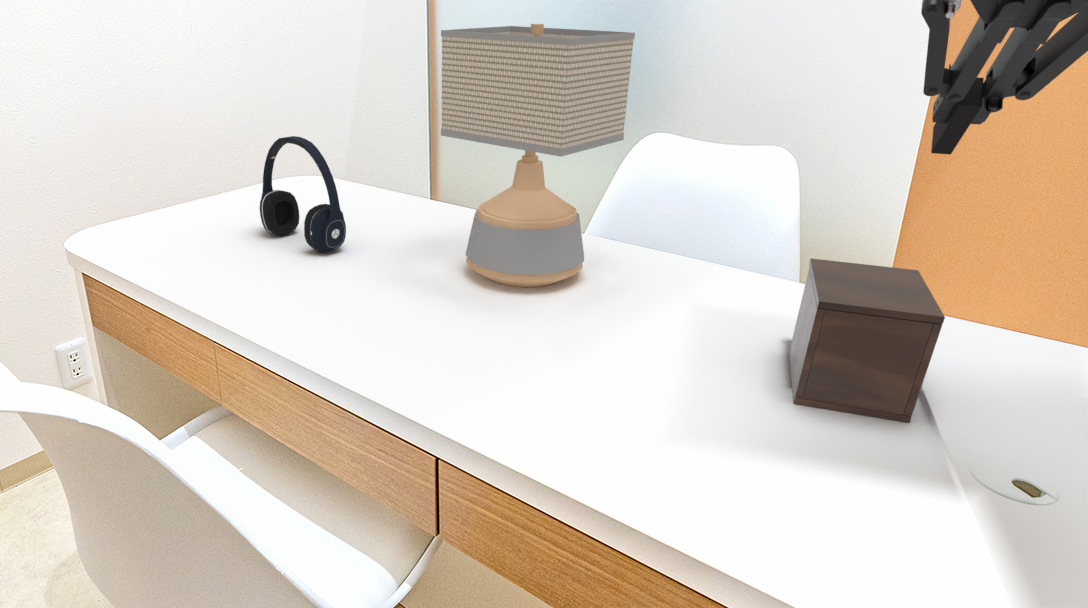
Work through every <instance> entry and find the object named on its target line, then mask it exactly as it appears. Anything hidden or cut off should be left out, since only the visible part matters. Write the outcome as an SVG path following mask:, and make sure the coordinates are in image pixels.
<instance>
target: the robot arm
mask: <svg viewBox="0 0 1088 608" xmlns="http://www.w3.org/2000/svg"><path fill="white" fill-rule="evenodd" d="M969 1H970V2H971V4H972V6H973V8H974V10H975V12H976V13H977V15H978V18H977V20H976V22H975V24H974V26H973V27H972V29H971V31H970V33H969V34H968V36H967V38H966V40H965V42H964V44H963V45H962V47H961V49H960V51H959V53H958V55H957V56H956V58H955V60H954V62H953V63H952V64H951V63H950V64H948V67H945V66H946V60H947V52H948V44H949V37H950V27H951V19H952V18H953V17H954V16H955V15H956V12H957V11H959V9H960V8H961V5H962V4H961V3H962V0H922V1H921V10H920V11H921V16H922V18H923V20H924V21H925V23H926V26H927V27H928V38H927V50H926V59H925V68H924V79H923V89H922V92H923V95H925V96H926V97H935V96H937V97H936V99H935V101H934V103H933V105H932V106H933V107H932V118H931V119H932V123H934V125H933V128H932V139H931V150H930V153H931V154H937V155H952V154H953V152H954V150H955V149H956V147H957V145H958V144H959V143H960V141H961V140H962V138H963V136H964V135H965V133H966V132H967V130H968V128H969V127H970V125H978V126H979V125H982V124H983V123H984V122H986V121H987V119H988V117H989V116H990V115H991V113H997V112H999V111H1001V110H1002V109H1003V108H1004V107H1003V105H1004V99H1007V98H1011V97H1014V98H1015V99H1016V100H1018V101H1027V100H1030V99H1032V98H1034V97H1035V96H1036V95H1037V94H1038V93H1040V92H1041V91H1042V90H1043V89H1045V88H1046V87H1047V86H1048V85H1049V84H1050V83H1051V82H1053V81H1054V80H1055V79H1056V78H1058V77H1059V76H1060V75H1061V74H1062V73H1064V72H1065V71H1066V70H1067V69H1068V68H1070V67H1071V66H1072V65H1073V64H1074V63H1075V62H1076V61H1078V60H1079V59H1080V58H1081V57H1082V56H1084V55H1085V54H1086V53H1087V52H1088V0H969ZM1070 17H1072V18H1070ZM1069 18H1070V19H1069ZM1067 19H1069V20H1068V21H1067V22H1066V23H1065V24H1064V25H1063V26H1062V27H1061V28H1059V29H1058V30H1057V31H1056V32H1055V33H1054V34H1053V32H1054V31H1055V29H1056V28H1057V26H1058V25H1059V23H1061V22H1062V21H1065V20H1067ZM1010 29H1012V31H1011V32H1010V34H1009V36H1008V38H1007V39H1006V41H1005V42H1004V44H1003V46H1002V47H1001V49H1000V50H999V52H998V54H997V56H996V57H995V59H994V60H993V62H992V64H991V65H990V66H989V69H988V70H987V72H986V74H985V80H984V77H978V76H979V74H980V73H981V72H982V70H983V68H984V67H985V65H986V63H987V62H988V60H989V58H990V56H991V55H992V54H993V52H994V50H995V49H996V47H997V46H998V44H1001V43H1002V42H1003V41H1004V39H1005V38H1006V36H1007V34H1008V32H1009V31H1010ZM1052 34H1053V35H1052ZM1051 35H1052V36H1051ZM1050 36H1051V37H1050Z"/></svg>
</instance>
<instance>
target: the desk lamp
mask: <svg viewBox="0 0 1088 608" xmlns="http://www.w3.org/2000/svg"><path fill="white" fill-rule="evenodd" d="M440 37H441V127H440V136H442V137H446V138H453V139H458V140H464V141H470V142H475V143H481V144H486V145H493V146H498V147H503V148H509V149H516V150H520V151H524V154H523V155H521V159H518V160H517V161H516V165H515V170H514V175H513V179H512V180H513V181H512V184H511V186H510V187H508V188H506V189H504V190H503V191H501V192H499V193H498V194H496V195H494V196H493V197H490V198H489V199H488V200H486V201H483V202H482V203H480V204H479V206H478V208H477V209H476V210H475V212H474V215H473V220H472V224H471V228H470V233H469V237H468V242H467V246H466V249H465V256H466V259H465V262H466V264H467V265H468V266H469V268H470V269H471V270H472V271H474V272H475V273H478V274H480V275H481V276H483V277H485V278H486V279H489V280H491V281H493V282H496V283H498V284H502V285H506V286H511V287H520V288H534V287H536V288H537V287H545V286H549V285H552V284H555V283H559V282H561V281H564V280H567V279H569V278H571V277H573V276H575V275H576V274H577V273H579V272H580V271H581V270H582V269H583V267H584V265H583V263H584V262H585V253H584V251H585V250H584V242H583V236H582V235H583V234H582V227H581V219H580V214H579V213H578V211H577V208H576V207H575V206H573V205H571V204H570V203H569V202H567V201H565V200H564V199H563V198H561V197H560V196H558V195H557V194H556V193H554V192H552V191H551V190H550V189H548V188H547V187H546V184H545V173H544V162H543V161H542V160H539V155H536V153H538V154H544V155H550V156H555V157H564V156H568V155H572V154H576V153H580V152H585V151H587V150H591V149H595V148H599V147H602V146H606V145H610V144H613V143H614V144H615V143H617V142H621V141H624V139H625V132H624V130H625V122H626V112H627V103H628V93H629V85H630V76H631V67H632V57H633V48H634V40H635V38H636V32H632V31H631V32H629V31H610V30H596V29H595V30H593V29H574V28H557V27H545V24H544V23H531V24H530V26H519V25H517V26H516V25H507V26H506V25H505V26H503V25H502V26H489V27H474V28H473V27H469V28H457V29H455V28H454V29H441V30H440Z"/></svg>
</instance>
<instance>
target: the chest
mask: <svg viewBox="0 0 1088 608" xmlns="http://www.w3.org/2000/svg"><path fill="white" fill-rule="evenodd" d="M942 327H943V324H938V323H930V322H923V321H915V320H907V319H899V318H892V317H884V316H876V315H868V314H861V313H853V312H845V311H837V310H830V309H822V308H817V303H816V298H815V292H814V287H813V282H812V277H811V272H810V267H808V270H807V275H806V279H805V284H804V288H803V293H802V297H801V301H800V304H799V309H798V313H797V318H796V322H795V325H794V330H793V333H792V334H793V335H792V337H791V342H790V347H789V351H788V358H789V369H790V380H791V391H792V402H793V404H795V405H800V406H805V407H811V408H818V409H824V410H829V411H835V412H842V413H848V414H855V415H860V416H866V417H872V418H879V419H885V420H889V421H890V420H891V421H895V422H896V421H897V422H901V423H902V422H903V423H908V424H909V423H911V420H912V416H913V413H914V411H915V408H916V405H917V401H918V398H919V396H920V393H921V390H922V386H923V384H924V381H925V378H926V375H927V372H928V369H929V366H930V363H931V360H932V357H933V354H934V351H935V348H936V345H937V342H938V339H939V336H940V334H941V331H942Z"/></svg>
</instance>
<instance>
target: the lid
mask: <svg viewBox="0 0 1088 608" xmlns="http://www.w3.org/2000/svg"><path fill="white" fill-rule="evenodd" d="M808 266H809V267H810V272H811V277H812V282H813V287H814V292H815V298H816V303H817V308H822V309H830V310H837V311H845V312H853V313H861V314H868V315H876V316H884V317H892V318H899V319H907V320H915V321H923V322H930V323H938V324H942V325H943V324H944V322H945V319H946V316H945V315H944V312H943V311H942V309H941V308H940V306H939V304H938V302H937V301H936V299H935V297H934V295H933V293H932V292H931V289H930V288H929V286H928V285H927V283H926V282H925V280H924V277H923V276H922V274H921V272H920V271H919V270H918V269H909V268H902V267H901V268H900V267H893V266H892V267H891V266H884V265H876V264H875V265H873V264H865V263H857V262H856V263H855V262H845V261H836V260H830V259H829V260H828V259H820V258H819V259H818V258H809V263H808ZM809 267H808V268H809Z"/></svg>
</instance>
